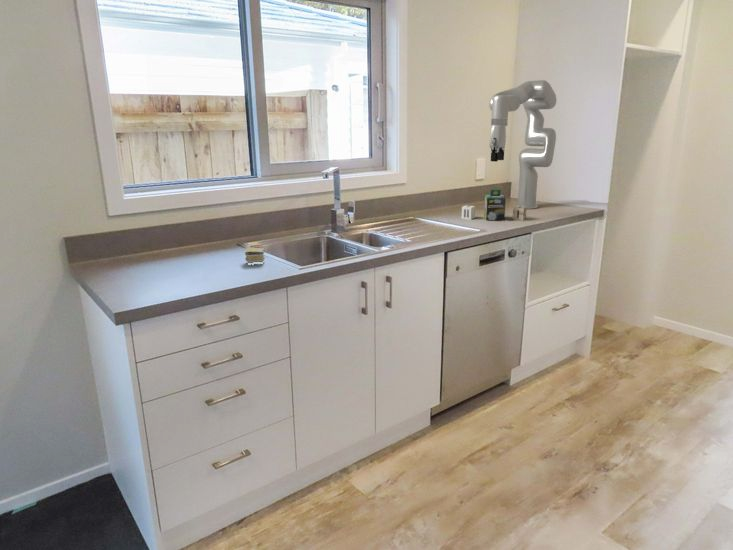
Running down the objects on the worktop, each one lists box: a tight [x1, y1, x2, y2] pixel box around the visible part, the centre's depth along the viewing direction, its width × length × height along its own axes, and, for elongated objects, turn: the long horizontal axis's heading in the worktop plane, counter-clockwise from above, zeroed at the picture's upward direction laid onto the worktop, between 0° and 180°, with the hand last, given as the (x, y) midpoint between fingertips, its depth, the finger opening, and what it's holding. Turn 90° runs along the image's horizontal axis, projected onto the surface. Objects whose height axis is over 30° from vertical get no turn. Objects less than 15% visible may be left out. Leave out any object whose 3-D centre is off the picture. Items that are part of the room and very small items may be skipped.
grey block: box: [461, 205, 476, 221], centre depth 258 cm, size 5×5×6 cm
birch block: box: [512, 206, 528, 222], centre depth 254 cm, size 5×5×6 cm
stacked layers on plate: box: [244, 247, 266, 264], centre depth 184 cm, size 10×9×6 cm
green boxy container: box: [483, 188, 507, 222], centre depth 254 cm, size 9×9×15 cm
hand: (497, 160), depth 248 cm, fingers open, 8 cm apart
